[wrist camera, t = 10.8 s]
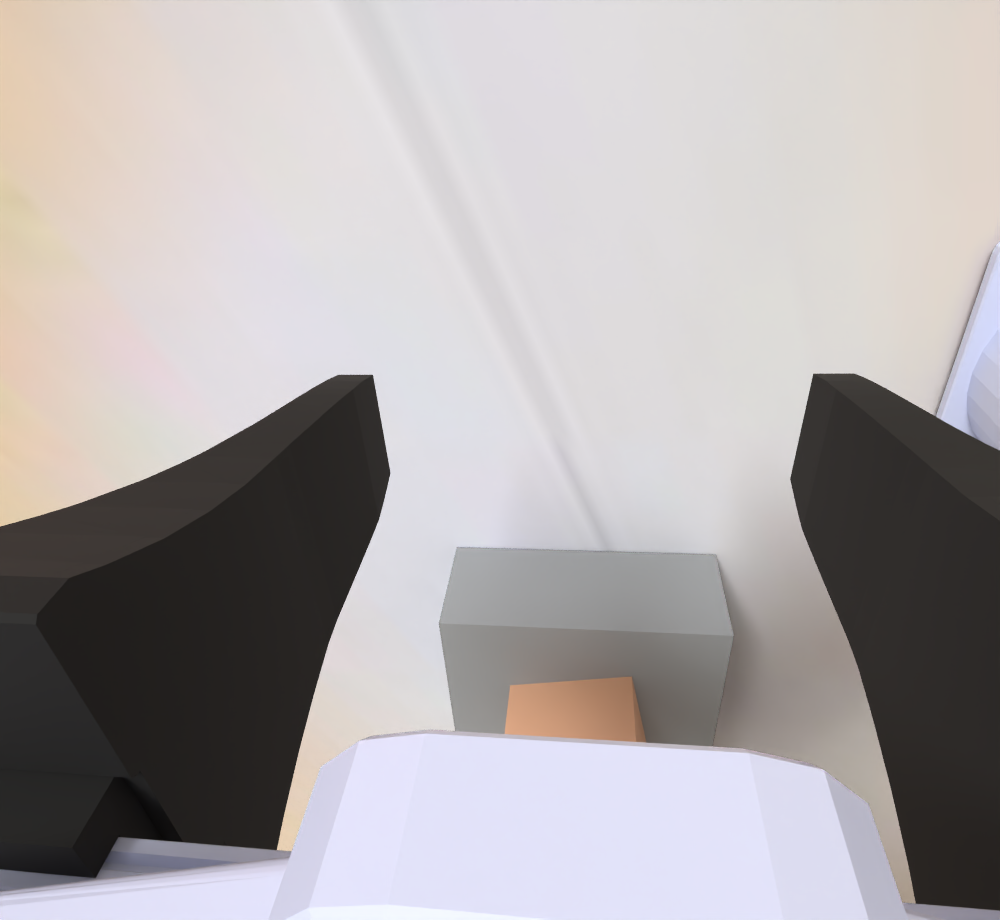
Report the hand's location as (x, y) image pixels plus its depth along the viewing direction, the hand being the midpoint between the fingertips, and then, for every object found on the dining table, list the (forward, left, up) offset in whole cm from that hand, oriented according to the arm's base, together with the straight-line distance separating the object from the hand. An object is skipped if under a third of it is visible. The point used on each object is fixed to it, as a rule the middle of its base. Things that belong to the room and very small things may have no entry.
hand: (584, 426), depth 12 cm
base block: (0, +17, -10) cm, 20 cm away
